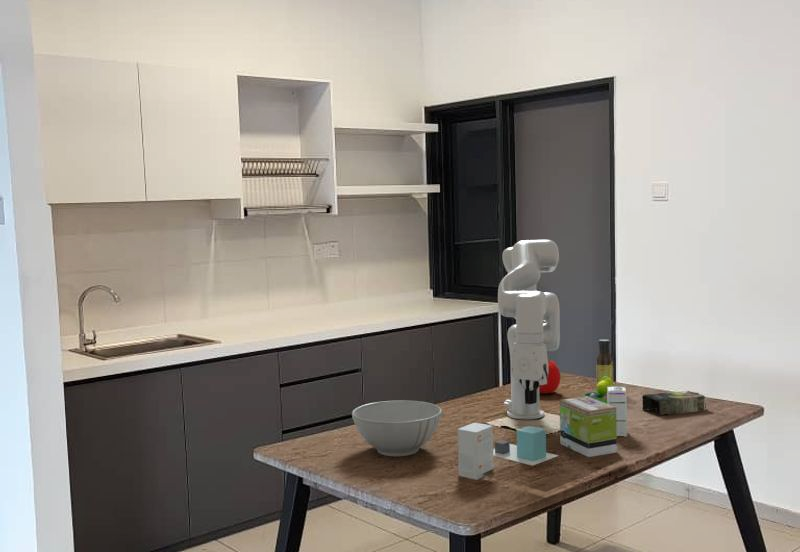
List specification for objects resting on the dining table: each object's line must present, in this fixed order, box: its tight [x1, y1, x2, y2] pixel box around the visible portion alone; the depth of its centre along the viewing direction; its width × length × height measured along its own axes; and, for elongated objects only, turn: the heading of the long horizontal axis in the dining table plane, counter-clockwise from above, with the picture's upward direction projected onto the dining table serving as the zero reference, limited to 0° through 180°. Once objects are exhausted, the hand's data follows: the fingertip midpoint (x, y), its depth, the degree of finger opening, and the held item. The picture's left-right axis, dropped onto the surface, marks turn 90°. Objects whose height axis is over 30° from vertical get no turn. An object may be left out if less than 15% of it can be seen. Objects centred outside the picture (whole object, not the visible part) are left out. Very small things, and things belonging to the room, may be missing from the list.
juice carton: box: [641, 390, 707, 416], centre depth 288 cm, size 20×10×6 cm, turn 109°
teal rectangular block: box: [516, 425, 547, 461], centre depth 236 cm, size 6×6×8 cm
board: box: [493, 439, 560, 466], centre depth 240 cm, size 18×12×4 cm, turn 43°
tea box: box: [559, 396, 618, 458], centre depth 243 cm, size 15×10×15 cm, turn 22°
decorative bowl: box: [351, 399, 443, 457], centre depth 250 cm, size 27×27×12 cm
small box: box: [456, 422, 495, 481], centre depth 226 cm, size 8×6×13 cm
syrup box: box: [607, 386, 628, 438], centre depth 261 cm, size 6×6×14 cm
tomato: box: [539, 359, 561, 395], centre depth 319 cm, size 12×12×13 cm
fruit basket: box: [582, 376, 612, 403], centre depth 292 cm, size 11×9×11 cm
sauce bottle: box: [595, 339, 615, 392], centre depth 318 cm, size 6×6×20 cm
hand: (530, 403), depth 235 cm, fingers closed
